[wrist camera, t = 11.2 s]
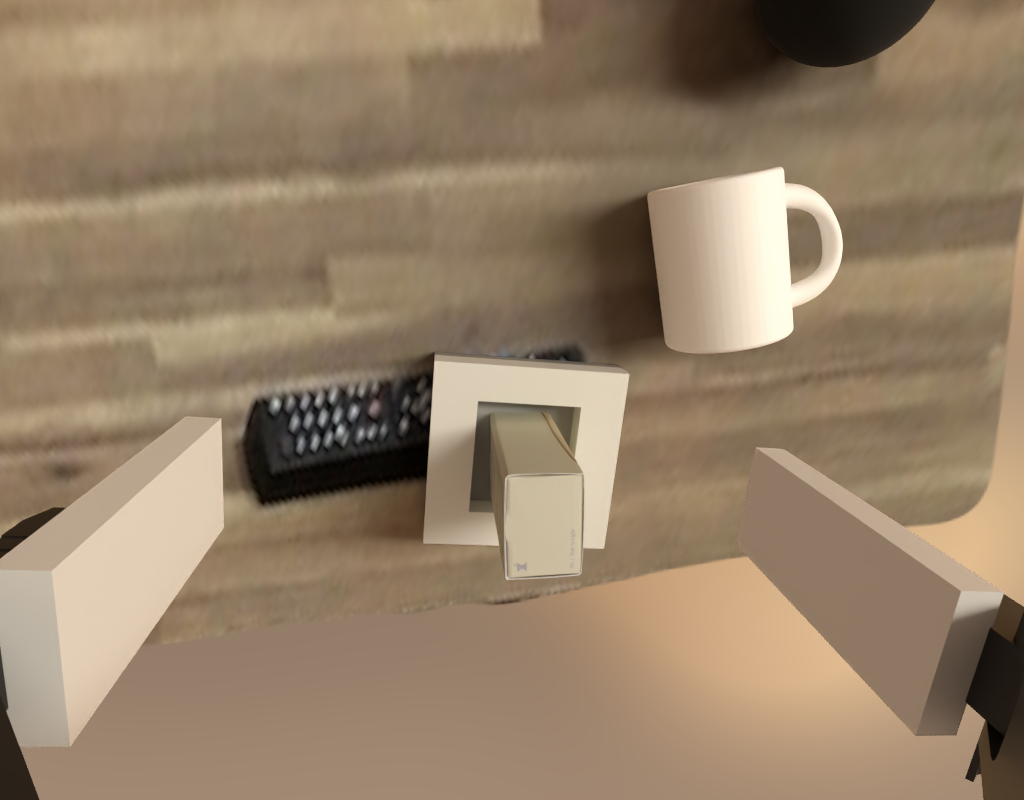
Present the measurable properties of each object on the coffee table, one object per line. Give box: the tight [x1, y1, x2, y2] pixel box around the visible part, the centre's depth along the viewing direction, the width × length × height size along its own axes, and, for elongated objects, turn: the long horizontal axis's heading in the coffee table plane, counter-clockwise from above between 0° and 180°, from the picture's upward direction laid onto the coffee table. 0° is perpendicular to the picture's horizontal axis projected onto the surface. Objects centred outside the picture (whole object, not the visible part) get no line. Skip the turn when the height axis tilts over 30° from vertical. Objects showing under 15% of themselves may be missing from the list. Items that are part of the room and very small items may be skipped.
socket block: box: [423, 352, 629, 549], centre depth 44 cm, size 13×13×3 cm
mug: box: [647, 167, 843, 353], centre depth 40 cm, size 12×10×8 cm
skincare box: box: [489, 412, 585, 580], centre depth 39 cm, size 6×4×12 cm
